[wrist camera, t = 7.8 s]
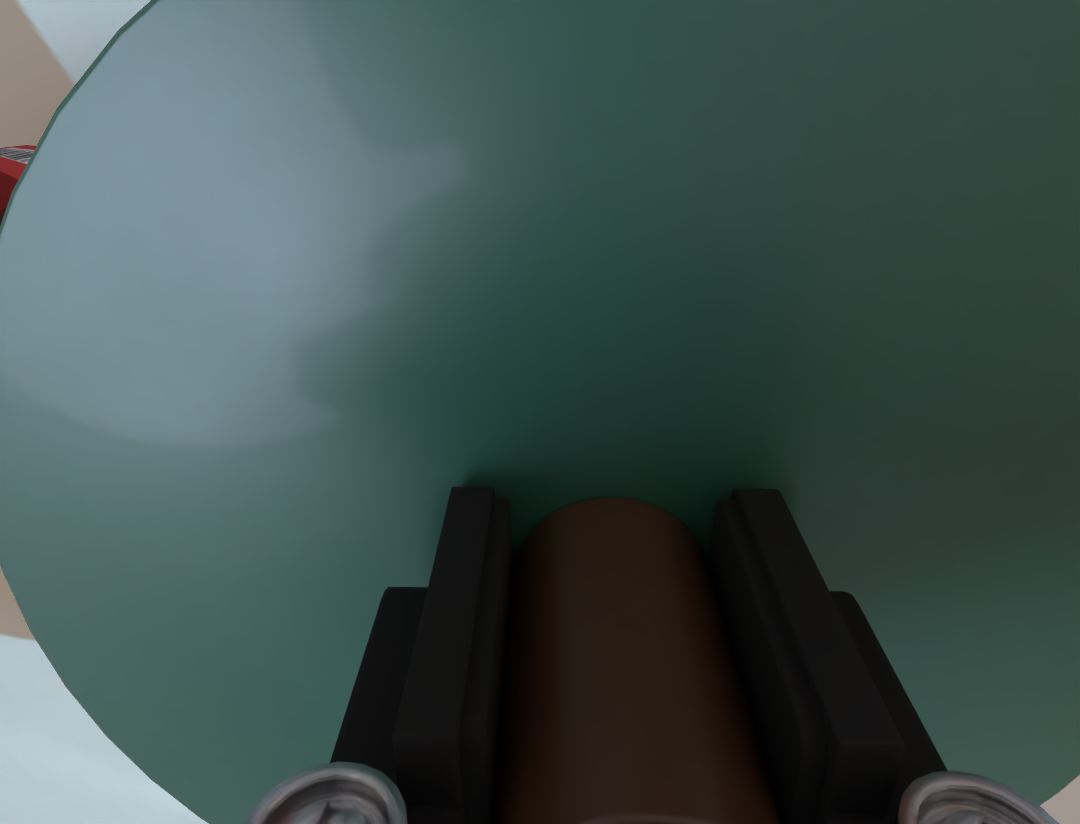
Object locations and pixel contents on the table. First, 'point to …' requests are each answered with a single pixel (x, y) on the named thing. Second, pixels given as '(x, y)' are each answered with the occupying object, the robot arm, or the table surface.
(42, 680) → the table surface
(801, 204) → the tin lid
